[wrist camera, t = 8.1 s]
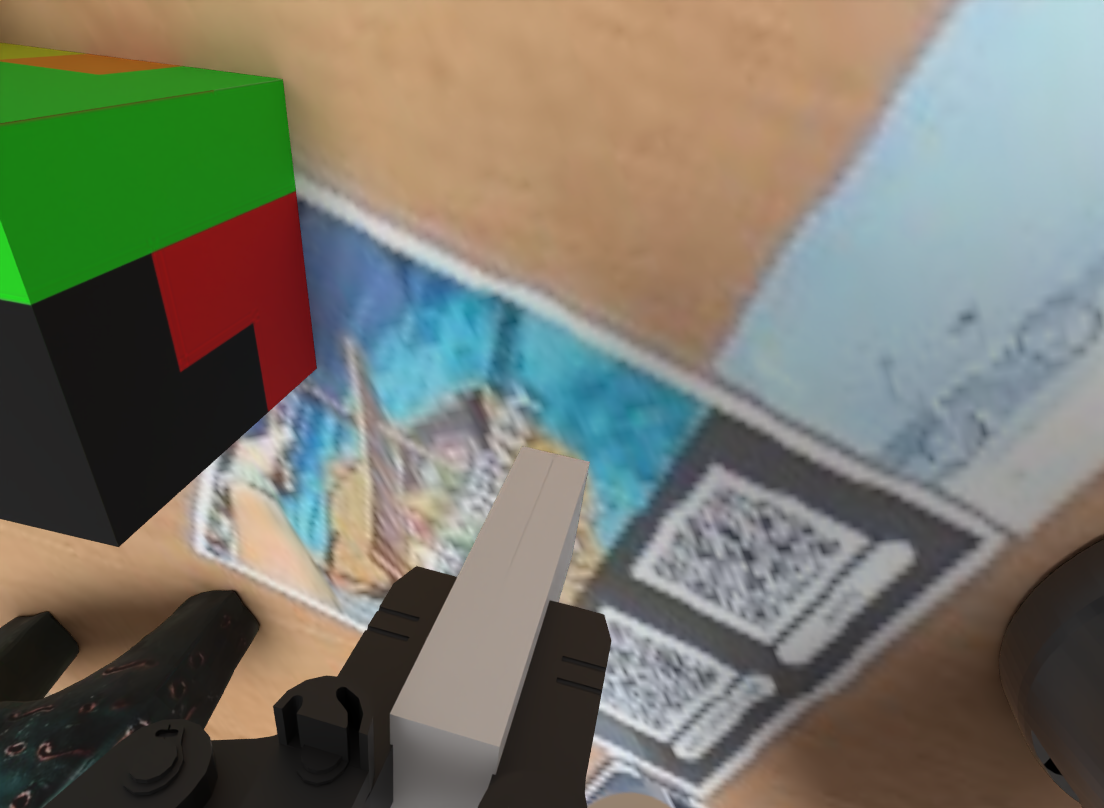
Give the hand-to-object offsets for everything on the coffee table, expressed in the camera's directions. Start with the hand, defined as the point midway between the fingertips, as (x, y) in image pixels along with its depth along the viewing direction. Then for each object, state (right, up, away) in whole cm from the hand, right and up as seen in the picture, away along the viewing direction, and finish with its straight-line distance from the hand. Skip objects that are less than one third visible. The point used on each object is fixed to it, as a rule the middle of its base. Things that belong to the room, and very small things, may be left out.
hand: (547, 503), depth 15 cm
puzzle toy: (-13, +9, +9) cm, 18 cm away
